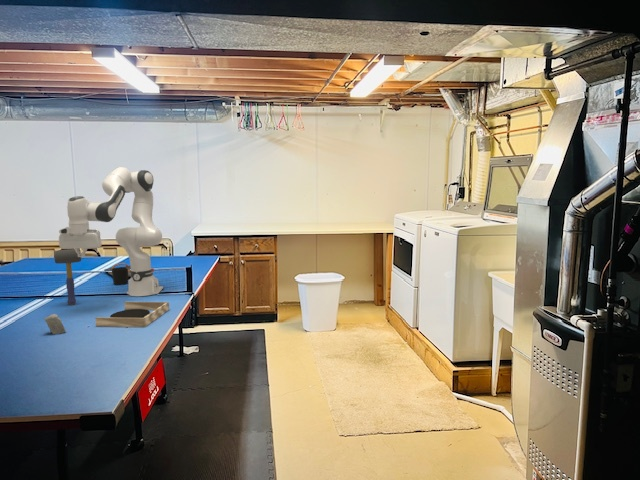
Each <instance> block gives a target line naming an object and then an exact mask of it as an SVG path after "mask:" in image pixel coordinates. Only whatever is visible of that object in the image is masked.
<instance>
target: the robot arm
mask: <svg viewBox="0 0 640 480" xmlns="http://www.w3.org/2000/svg"><path fill="white" fill-rule="evenodd" d="M101 186H102V189H103V190H102V191H104V193H106V195H107V196H109V198H108V199H107V201H104V202H103V201H102V202H97V201H96V202H92V201H89V200H88V199H86V197H84V196H81V195H80V196H73V197H70V198H69V199H68V200H67V206H66V208H67V209H66V210H67V216H68V226H65V227H64V228H60V229H59V230H58V232H59V236H58V245H59V248H60V249H75V251H76V253H77V254H78V257H81V258H85V257H86V253H87V251H88V249H99V248H101V247H102V240H101V232H100V231H99V230H98V229H96V228H94V229H92V228H91V229H90V224H89V222H102V223H110V222H112V221H113V220H114V218H115V217H116V213H117V210H118V208H119V207H120V205H121V203H122V202H123V200H124V198H125V195H126V193H127V194H128V193H134V197H133V198H134V199H133V202H132V209H131V218H132V220H133V221H134V222H136V223H138V224H139V226H137V227H125V228H120V229H118V230H117V232H116V233H115V241H116V243H117V244H118V245H119V246H120V247H121V248H123V249H124V251H126V253H127V255H128V258H129V265H130V266H131V271H130V276H129V277H130V278H128V291H126V295H129V296H130V297H145V296H151V295H158V294H159V293H160V292H161V291H162V290H163V289H164V286H162V285H161V286H160V284H159V283H160V282H159V279H158V278H157V277H156V276H155V275H154V272H155V268H153V267H152V264H151V263H152V262H151V256H150V255H149V254H148V252H147V253H146V252H145V251H143V250H142V248H141V247H153V246H155V247H156V246H158V245H160V243H161V242H162V240H163V234H162V232H161V230H160V229H159V228H158V227H157V226H156V225H155V224H154V221H153V209H154V195H153V191H152V188H153V186H154V176H153V174H152V172H151V171H149V170H145V169H143V170H142V169H141V170H139V171H138V170H137V171H132V172H131V171H130V170H129V169H128V168H127V167H125V166H119V167H117V168H115V169H114V170H112V171H111V172H110V173H109V174H108V175H107V176H106V177H105V178H104V179H103V181H102V183H101ZM79 250H80V251H82V252H80V251H79Z"/></svg>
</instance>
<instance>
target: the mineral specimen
mask: <svg viewBox="0 0 640 480" xmlns="http://www.w3.org/2000/svg"><path fill="white" fill-rule="evenodd" d="M44 321H45V323H46V325H47V327H48V328H49V330H50V333H52V335H57V334H58V335H60V334H65V333H67V331H66V328H65V327H64V324H63V322H62V320H61V318H60V317H59V316H58V315H57V314H56V313H52V314H50V315H49V316H47V317H45V318H44Z"/></svg>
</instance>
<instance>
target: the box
mask: <svg viewBox="0 0 640 480" xmlns="http://www.w3.org/2000/svg"><path fill="white" fill-rule="evenodd" d="M130 309H145V310H148V311H151V312H150V314H148V315H147V316H145V317H144V318H115V317H110V316H109V317H102V316H101V317H100V316H99V317H95V327H105V328H106V327H107V328H108V327H110V328H111V327H112V328H113V327H115V328H116V327H117V328H122V327H123V328H146V327H147V326H148V325H150V324H151V323H153V322H154V321H155V320H157V319H158V318H159V317H161V316H162V315H164V314H165V313H166V312H168V311H169V310H170V302H169V301H124V310H130Z"/></svg>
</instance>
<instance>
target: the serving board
mask: <svg viewBox="0 0 640 480" xmlns="http://www.w3.org/2000/svg"><path fill="white" fill-rule="evenodd" d="M120 266H124V267H125V268H127V269H128V278H129V277H130V271H131V270H130V269H131V266H130V264H127V263H125V262H124V263H123V262H120V263H116V264H114V265H113V266H111V267H109V268H105V269H104V270H103V271H105V272H106V271H112V269H113V268H119V267H120ZM107 274H109V276H110V275H111V276H112V277H113V275H112V272H108V273H107Z"/></svg>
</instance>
